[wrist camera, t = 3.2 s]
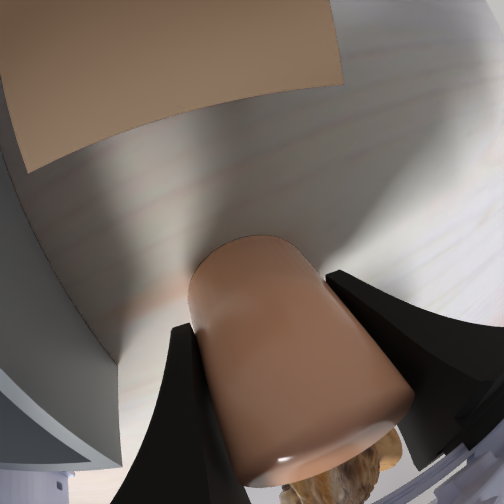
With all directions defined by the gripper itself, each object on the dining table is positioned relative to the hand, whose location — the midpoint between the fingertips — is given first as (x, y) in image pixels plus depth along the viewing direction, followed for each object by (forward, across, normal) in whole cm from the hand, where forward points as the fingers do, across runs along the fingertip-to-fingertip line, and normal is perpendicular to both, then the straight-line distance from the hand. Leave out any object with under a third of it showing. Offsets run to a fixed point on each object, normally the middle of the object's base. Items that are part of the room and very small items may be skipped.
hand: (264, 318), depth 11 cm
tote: (+2, +15, -8) cm, 17 cm away
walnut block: (+2, +1, -10) cm, 10 cm away
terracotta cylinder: (+2, 0, 0) cm, 2 cm away
